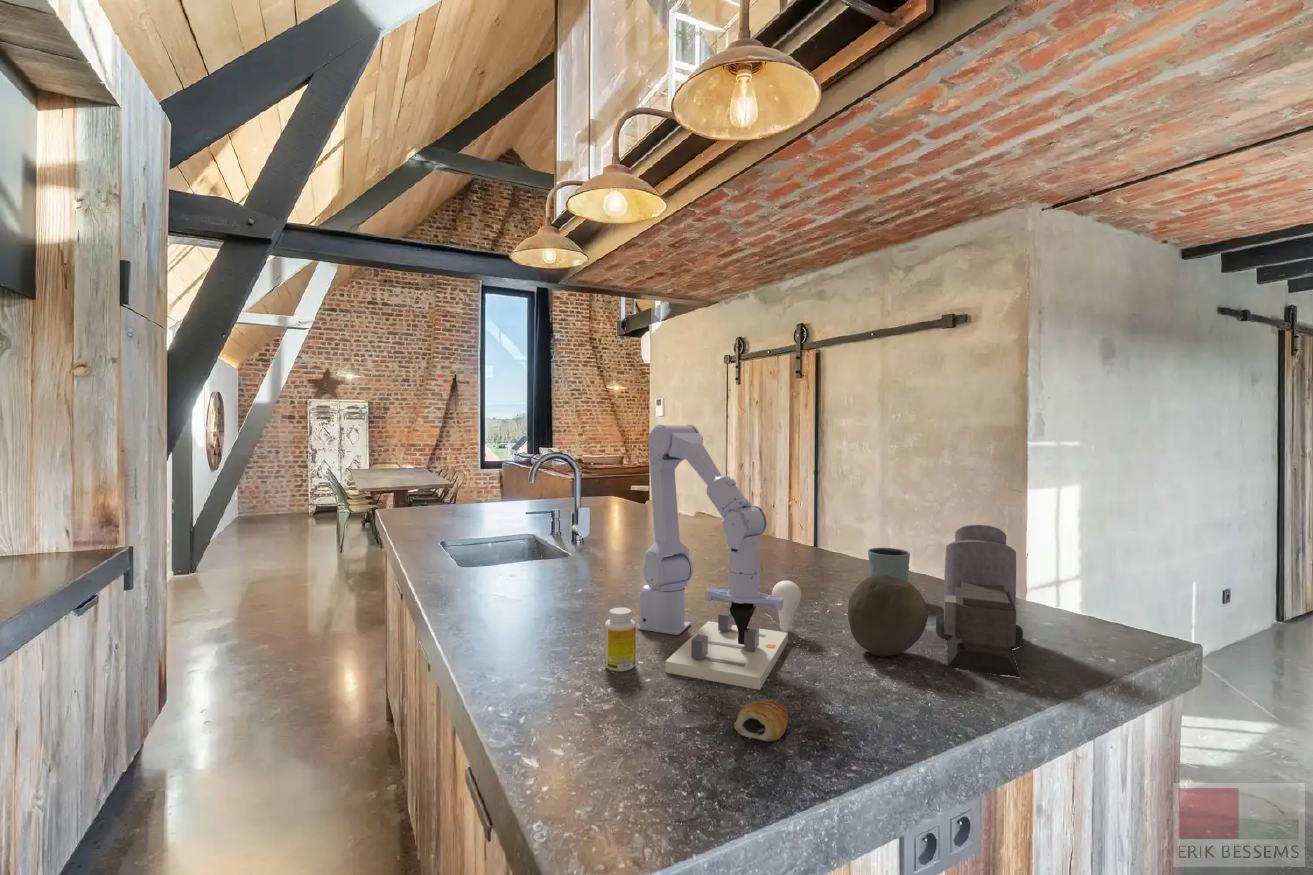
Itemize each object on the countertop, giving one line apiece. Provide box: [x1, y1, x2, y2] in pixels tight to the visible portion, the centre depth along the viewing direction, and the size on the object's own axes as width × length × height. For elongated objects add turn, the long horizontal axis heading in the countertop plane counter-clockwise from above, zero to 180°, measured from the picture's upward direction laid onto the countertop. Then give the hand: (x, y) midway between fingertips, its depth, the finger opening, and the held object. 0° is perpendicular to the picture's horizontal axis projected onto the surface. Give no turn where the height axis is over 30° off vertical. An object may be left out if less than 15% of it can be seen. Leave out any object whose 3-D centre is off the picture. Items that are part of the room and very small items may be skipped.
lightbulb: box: [771, 580, 802, 633], centre depth 127 cm, size 6×6×11 cm
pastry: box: [733, 699, 789, 742], centre depth 87 cm, size 9×7×4 cm
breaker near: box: [691, 634, 708, 660], centre depth 107 cm, size 2×3×3 cm, turn 157°
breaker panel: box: [664, 620, 789, 691], centre depth 113 cm, size 17×24×2 cm
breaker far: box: [717, 609, 733, 631], centre depth 122 cm, size 2×3×3 cm, turn 157°
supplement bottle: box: [604, 607, 637, 673], centre depth 108 cm, size 6×6×10 cm
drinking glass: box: [867, 547, 911, 582], centre depth 154 cm, size 10×10×12 cm
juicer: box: [935, 524, 1024, 677], centre depth 120 cm, size 30×16×24 cm, turn 154°
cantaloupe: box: [847, 575, 929, 657], centre depth 115 cm, size 14×14×15 cm
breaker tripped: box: [744, 626, 760, 651], centre depth 112 cm, size 2×3×3 cm, turn 157°
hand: (742, 642), depth 112 cm, fingers closed
